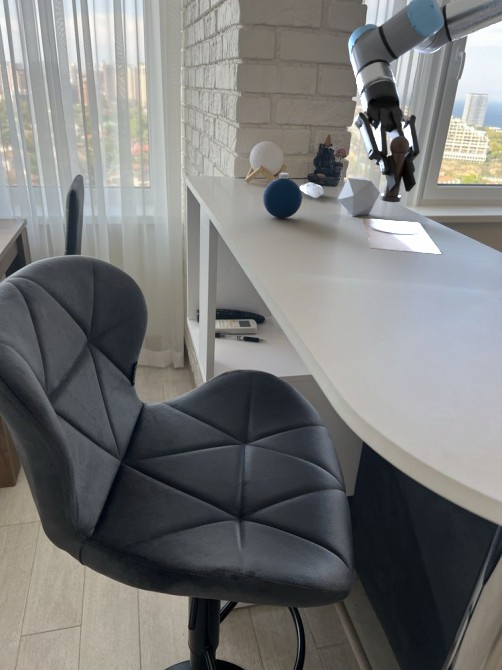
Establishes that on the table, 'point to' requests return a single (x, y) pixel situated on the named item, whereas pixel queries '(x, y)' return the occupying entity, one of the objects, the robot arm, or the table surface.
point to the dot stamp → (396, 167)
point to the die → (358, 196)
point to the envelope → (398, 236)
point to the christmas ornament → (282, 197)
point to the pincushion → (312, 189)
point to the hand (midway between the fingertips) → (402, 187)
